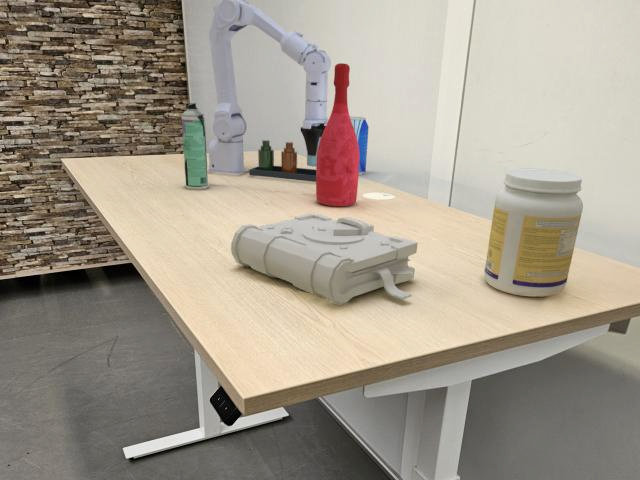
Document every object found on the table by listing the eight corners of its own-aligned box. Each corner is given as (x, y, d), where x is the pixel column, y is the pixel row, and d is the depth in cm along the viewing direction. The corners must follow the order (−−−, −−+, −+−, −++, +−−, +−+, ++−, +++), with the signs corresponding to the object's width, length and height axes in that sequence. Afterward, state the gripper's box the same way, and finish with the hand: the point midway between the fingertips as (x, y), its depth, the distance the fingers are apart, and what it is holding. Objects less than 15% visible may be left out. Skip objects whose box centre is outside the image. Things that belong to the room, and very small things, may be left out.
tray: (249, 177, 161) (249, 169, 160) (262, 171, 169) (262, 164, 168) (320, 184, 155) (321, 176, 154) (331, 178, 163) (331, 171, 162)
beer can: (365, 178, 166) (369, 119, 159) (336, 176, 166) (339, 118, 159) (364, 173, 173) (368, 116, 167) (336, 171, 173) (339, 115, 167)
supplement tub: (576, 285, 90) (602, 175, 83) (545, 306, 81) (571, 186, 74) (503, 266, 97) (521, 164, 90) (468, 283, 89) (484, 172, 82)
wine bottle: (307, 203, 134) (311, 62, 121) (327, 196, 142) (332, 62, 129) (345, 209, 130) (353, 64, 117) (363, 202, 138) (372, 64, 125)
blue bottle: (304, 165, 157) (305, 131, 153) (309, 163, 161) (310, 129, 157) (319, 167, 156) (320, 132, 152) (324, 164, 160) (326, 130, 156)
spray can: (210, 186, 148) (206, 103, 140) (204, 190, 143) (200, 104, 135) (189, 184, 148) (184, 102, 140) (183, 189, 143) (177, 103, 135)
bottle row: (255, 173, 163) (255, 140, 159) (262, 171, 166) (262, 138, 163) (293, 177, 159) (293, 143, 156) (299, 174, 163) (299, 142, 159)
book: (357, 323, 74) (361, 267, 71) (228, 267, 92) (226, 220, 88) (444, 288, 86) (450, 239, 83) (315, 245, 104) (317, 203, 101)
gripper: (321, 103, 144) (320, 159, 150) (338, 100, 157) (336, 152, 162) (295, 101, 146) (294, 156, 152) (314, 99, 159) (313, 150, 164)
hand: (314, 154), depth 157 cm, fingers closed on blue bottle, 4 cm apart
